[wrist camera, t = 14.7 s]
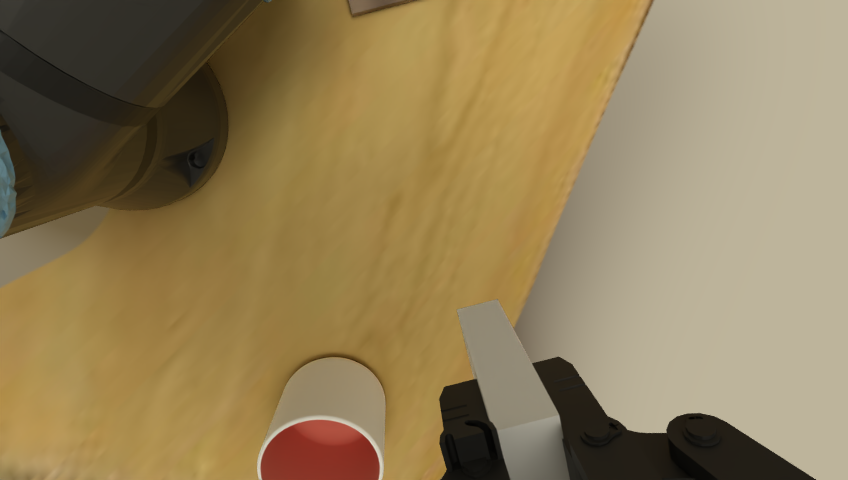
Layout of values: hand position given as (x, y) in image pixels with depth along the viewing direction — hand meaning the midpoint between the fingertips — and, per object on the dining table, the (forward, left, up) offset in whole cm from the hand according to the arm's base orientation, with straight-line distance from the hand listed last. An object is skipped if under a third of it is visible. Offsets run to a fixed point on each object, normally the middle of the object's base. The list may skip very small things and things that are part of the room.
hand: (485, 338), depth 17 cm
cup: (-14, -17, -27) cm, 35 cm away
